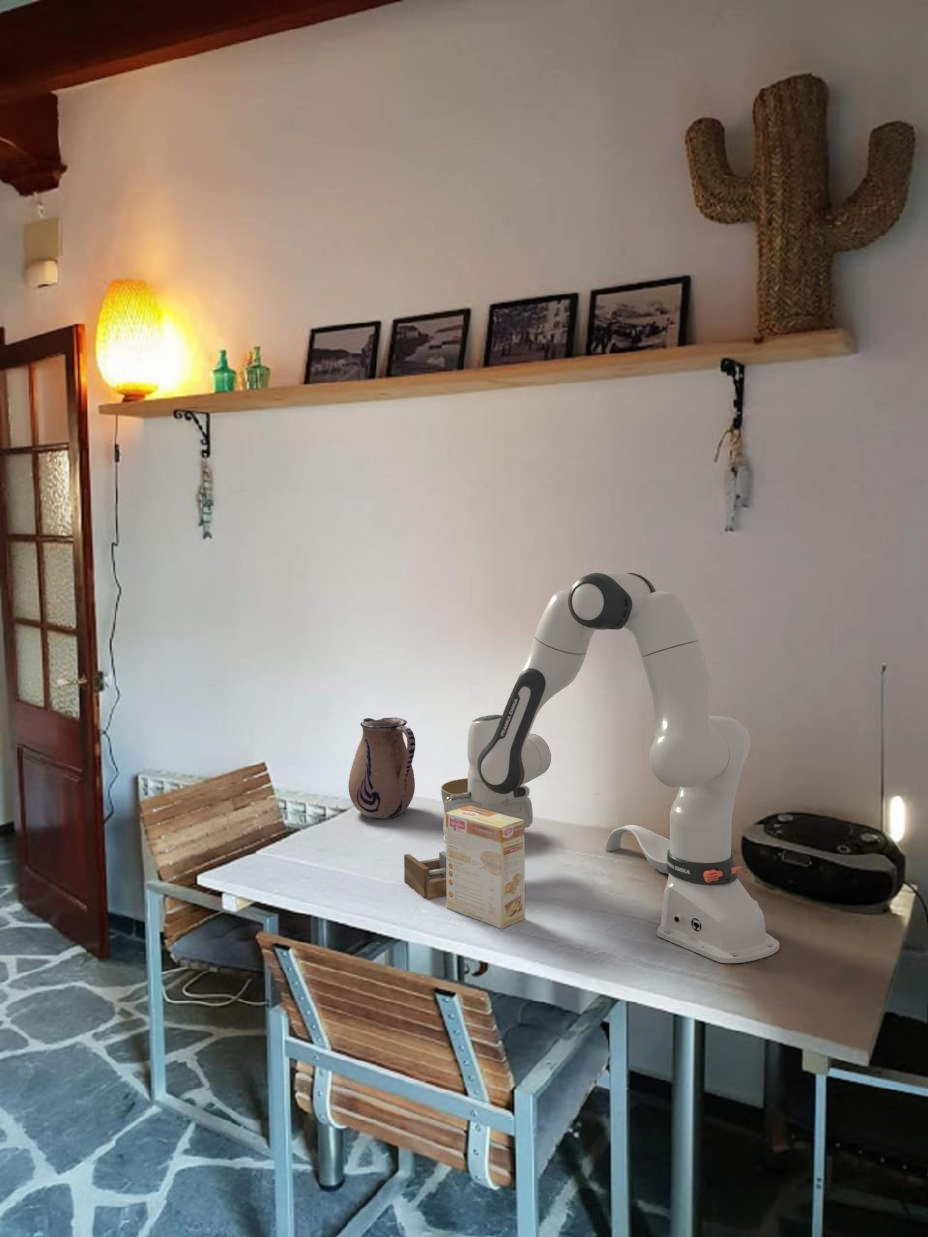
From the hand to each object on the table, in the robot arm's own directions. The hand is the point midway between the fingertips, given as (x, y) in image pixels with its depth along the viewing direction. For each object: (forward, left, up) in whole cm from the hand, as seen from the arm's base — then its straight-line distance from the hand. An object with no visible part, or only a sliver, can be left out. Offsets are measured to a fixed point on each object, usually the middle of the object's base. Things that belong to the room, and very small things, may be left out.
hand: (488, 852), depth 204 cm
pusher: (-1, +11, -5) cm, 12 cm away
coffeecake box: (-18, +10, -5) cm, 22 cm away
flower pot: (+25, -11, -5) cm, 28 cm away
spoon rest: (-10, -36, -5) cm, 37 cm away
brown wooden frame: (-1, +8, -5) cm, 9 cm away
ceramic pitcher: (+51, +3, -5) cm, 51 cm away
